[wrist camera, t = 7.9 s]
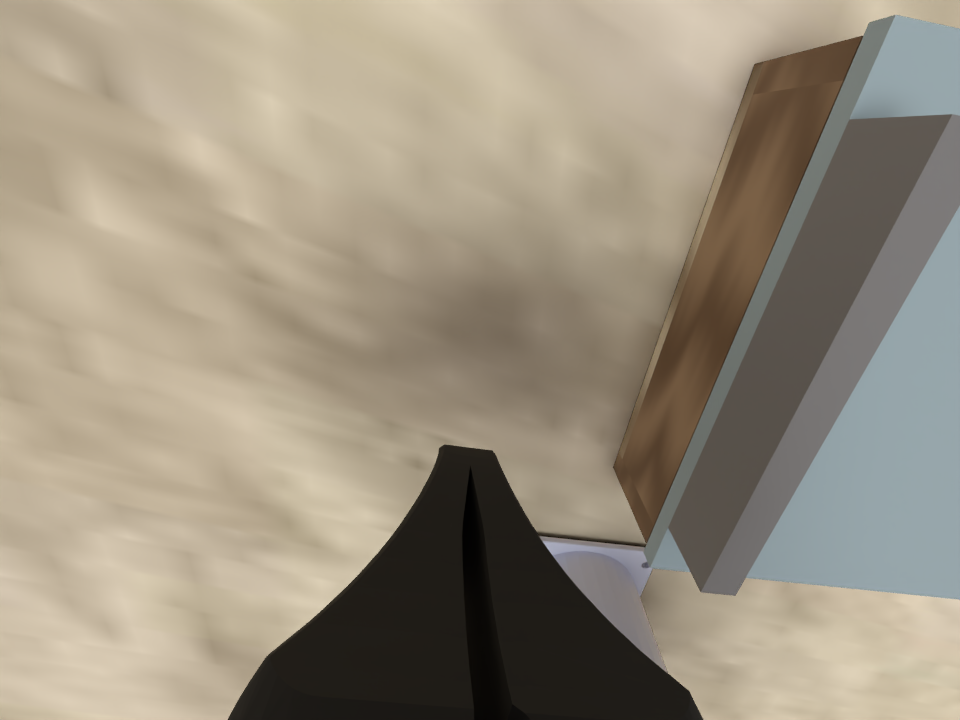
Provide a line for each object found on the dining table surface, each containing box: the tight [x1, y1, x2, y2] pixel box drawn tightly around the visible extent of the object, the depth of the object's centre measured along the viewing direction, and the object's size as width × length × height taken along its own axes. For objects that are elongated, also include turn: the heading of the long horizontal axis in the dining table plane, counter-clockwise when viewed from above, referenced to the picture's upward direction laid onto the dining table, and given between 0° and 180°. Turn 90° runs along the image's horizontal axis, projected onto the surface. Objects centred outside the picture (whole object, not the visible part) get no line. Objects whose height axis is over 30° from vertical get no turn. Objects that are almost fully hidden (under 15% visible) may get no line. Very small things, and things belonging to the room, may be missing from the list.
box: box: [613, 36, 863, 543], centre depth 19 cm, size 18×14×5 cm
